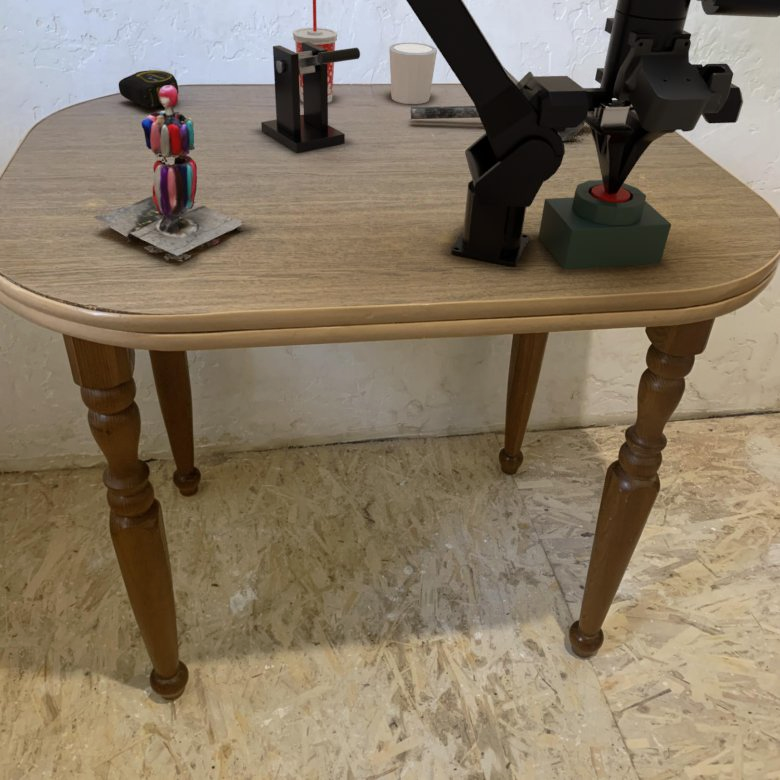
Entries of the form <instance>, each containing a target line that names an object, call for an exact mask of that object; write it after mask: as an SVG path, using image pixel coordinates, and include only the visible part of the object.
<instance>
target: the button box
mask: <svg viewBox="0 0 780 780" xmlns="http://www.w3.org/2000/svg"><path fill="white" fill-rule="evenodd" d="M599 185H603V180H602V179H596V180H595V179H594V180H586V181H584V182H581V183H579V184H577V185H576V187H575V191H574V195H573V196H572V197H556V198H544V203H543V208H542V215H541V219H540V226H539V231H538V239H539V240H540V241H541V242H542V243H543V245H544V246H545V248H546V249H547V250H548V251H549V252H550V254H551V256H553V258H554V259H555V260H556V262H557V263H558V264H559V265H560V267H561V268H562V269H563V270H564V271H567V270H584V269H598V268H599V269H600V268H613V267H614V268H615V267H629V266H643V265H656V264H661V263H662V259H663V255H664V252H665V248H666V244H667V241H668V237H669V234H670V232H671V231H670V230H671V227H672V223H670V221H668V220H667V219H666V218H665V217H664V216H663V215H662V214H661V213H660V212H658V211H657V210H656V209H655V208H654V207H653V206H651V204H649V202H647V201H646V200H647V195H646V194H645V193H644V192H643V191H641V189H639V188H638V187H636V186H633V185H630V184H628V183H625V182H624V183H623V184H622V186H621V188H623V189H625V190H627V191H628V192H629V193H630V199H629V201H628V202H621V203H613V202H606V201H601V200H599V199H596V198H594V197H592V196H591V191H592V188H593V187H595V186H599Z"/></svg>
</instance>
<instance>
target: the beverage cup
mask: <svg viewBox="0 0 780 780" xmlns="http://www.w3.org/2000/svg"><path fill="white" fill-rule="evenodd" d="M317 20H318V19H317V0H312V27H303V28H298V29H294V30H293V31H292V36H293V37H292V39H293V41H294V43H295V44H294V45H295V53H299V52H302V42H310V43H313V44H315V45H317V46H320V47H322V48H324V49H326V50H327V52H328V51H335V50H336V42H337V41H338V33H337V31H335V30H333V29H330V28H326V27H325V28H324V27H317V26H318V25H317V24H318V23H317ZM327 70H328V104H330V103H331V102H332V101H333V92H334V90H333V89H334V72H335V71H334V70H335V62H334V63H327ZM299 89H300V102H302V103H303V74H301V75H299Z"/></svg>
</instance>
